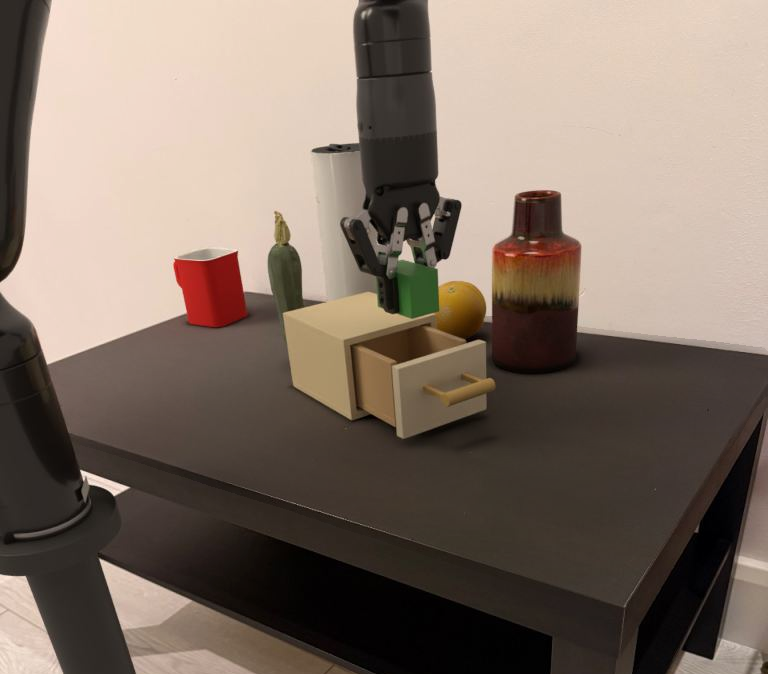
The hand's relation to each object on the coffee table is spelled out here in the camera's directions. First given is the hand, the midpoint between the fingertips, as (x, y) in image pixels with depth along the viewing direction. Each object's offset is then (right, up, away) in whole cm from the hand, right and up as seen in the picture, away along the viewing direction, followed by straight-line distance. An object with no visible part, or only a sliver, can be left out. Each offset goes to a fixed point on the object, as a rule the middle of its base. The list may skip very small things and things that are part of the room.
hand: (408, 307), depth 82 cm
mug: (-32, +11, +47) cm, 58 cm away
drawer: (+2, -11, +5) cm, 12 cm away
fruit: (+8, +3, +28) cm, 30 cm away
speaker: (-6, +5, +34) cm, 35 cm away
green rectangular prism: (0, 0, 0) cm, 0 cm away
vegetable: (-14, -2, +24) cm, 28 cm away
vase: (+17, -2, +19) cm, 26 cm away
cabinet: (-5, -6, +14) cm, 17 cm away
